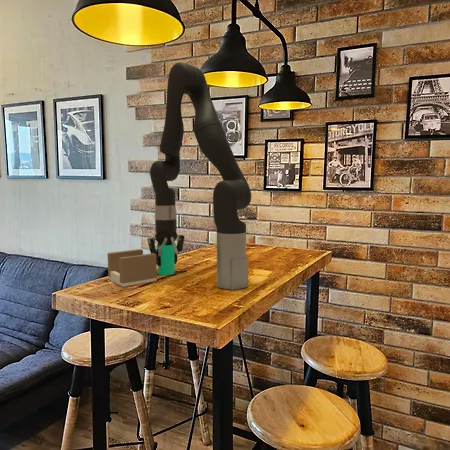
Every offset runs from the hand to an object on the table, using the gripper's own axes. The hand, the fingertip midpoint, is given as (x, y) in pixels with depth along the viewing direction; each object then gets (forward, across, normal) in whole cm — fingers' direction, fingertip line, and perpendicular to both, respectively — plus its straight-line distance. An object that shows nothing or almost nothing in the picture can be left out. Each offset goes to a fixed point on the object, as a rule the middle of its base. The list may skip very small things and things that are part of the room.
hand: (166, 264), depth 148 cm
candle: (+3, 0, 0) cm, 3 cm away
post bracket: (+3, -14, -2) cm, 15 cm away
